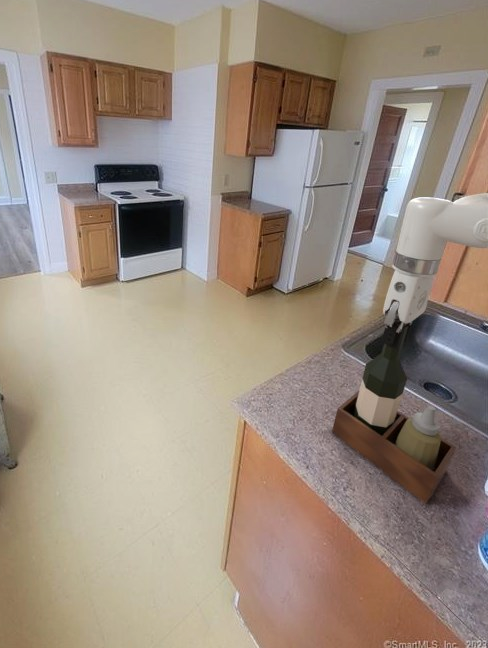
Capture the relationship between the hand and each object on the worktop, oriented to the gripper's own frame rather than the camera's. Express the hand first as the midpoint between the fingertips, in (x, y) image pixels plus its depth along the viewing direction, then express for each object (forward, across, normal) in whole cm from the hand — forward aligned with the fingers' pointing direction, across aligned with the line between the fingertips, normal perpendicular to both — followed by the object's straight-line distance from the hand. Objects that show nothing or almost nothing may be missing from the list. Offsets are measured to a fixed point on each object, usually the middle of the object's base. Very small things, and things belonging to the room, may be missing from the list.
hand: (394, 341), depth 69 cm
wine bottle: (+25, 0, 0) cm, 25 cm away
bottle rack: (+29, 0, -4) cm, 29 cm away
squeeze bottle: (+29, 0, -10) cm, 30 cm away
